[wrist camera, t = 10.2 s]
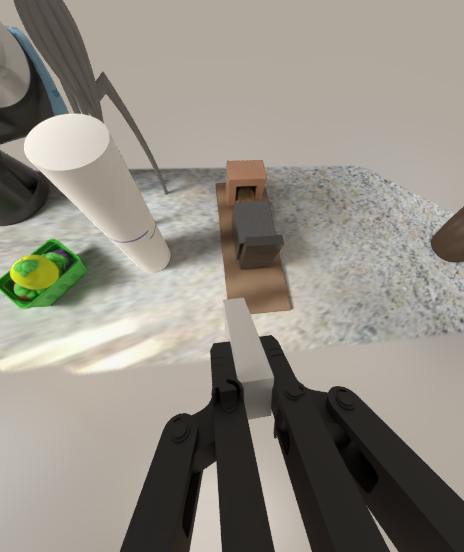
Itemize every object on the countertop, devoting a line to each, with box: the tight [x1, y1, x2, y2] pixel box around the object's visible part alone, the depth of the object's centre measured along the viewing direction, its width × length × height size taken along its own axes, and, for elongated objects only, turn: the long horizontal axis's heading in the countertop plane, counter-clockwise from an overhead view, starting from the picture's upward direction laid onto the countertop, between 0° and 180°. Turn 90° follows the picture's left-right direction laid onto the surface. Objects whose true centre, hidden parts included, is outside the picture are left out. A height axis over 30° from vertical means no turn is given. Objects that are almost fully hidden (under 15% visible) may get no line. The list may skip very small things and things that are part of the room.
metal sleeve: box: [232, 201, 276, 260], centre depth 40 cm, size 9×7×7 cm
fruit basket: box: [0, 239, 87, 309], centre depth 33 cm, size 11×9×11 cm
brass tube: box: [236, 186, 284, 269], centre depth 39 cm, size 20×6×10 cm, turn 6°
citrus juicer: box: [14, 0, 168, 194], centre depth 32 cm, size 11×10×30 cm
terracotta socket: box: [226, 160, 267, 206], centre depth 44 cm, size 5×8×8 cm, turn 96°
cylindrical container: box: [24, 114, 171, 273], centre depth 30 cm, size 7×7×25 cm
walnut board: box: [216, 183, 291, 314], centre depth 44 cm, size 32×12×1 cm, turn 6°
